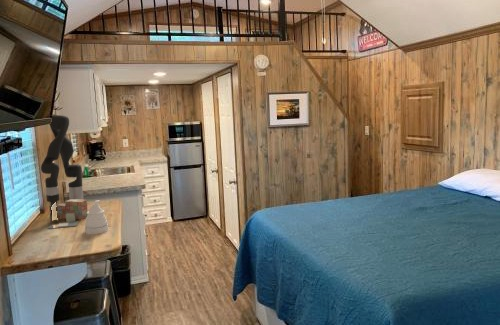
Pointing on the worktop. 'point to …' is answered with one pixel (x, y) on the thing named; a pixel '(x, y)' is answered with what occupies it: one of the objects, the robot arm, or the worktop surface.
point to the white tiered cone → (96, 220)
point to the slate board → (65, 224)
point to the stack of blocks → (73, 208)
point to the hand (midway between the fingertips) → (55, 218)
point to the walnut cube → (57, 216)
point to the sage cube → (70, 217)
